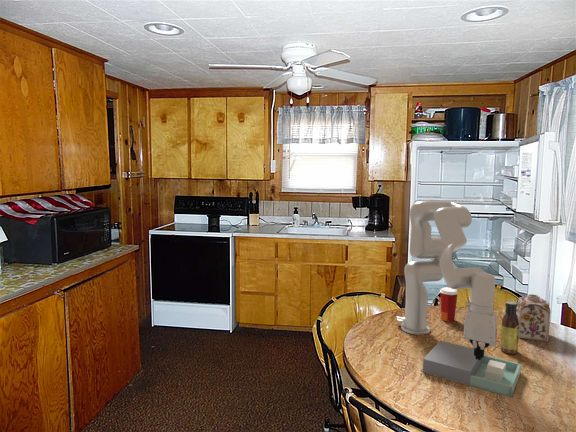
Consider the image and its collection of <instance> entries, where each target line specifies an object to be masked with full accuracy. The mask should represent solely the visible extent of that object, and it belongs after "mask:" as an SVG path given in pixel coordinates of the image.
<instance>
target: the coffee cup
mask: <svg viewBox="0 0 576 432" xmlns="http://www.w3.org/2000/svg"><path fill="white" fill-rule="evenodd" d="M439 293H440V319H441V321H444V322H449V323H450V322H451V323H452V322H454V321H455V318H456V317H455V316H456V312H457V311H456V310H457V299H458V294H459V292H458V289H452V288H450V287H449V286H448V287H442V288H441V289H440V290H439Z"/></svg>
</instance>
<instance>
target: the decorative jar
mask: <svg viewBox="0 0 576 432" xmlns="http://www.w3.org/2000/svg"><path fill="white" fill-rule="evenodd" d="M516 303H517V308H516V314H517V318H518V321H519V339H525V340H532V341H538V342H540V341H541V342H546V343H547V342H549V338H550V326H551V325H550V323H551V307H550V304H549V301H547V299H546V300H545V299H544V298H541V297H540V295H537V294H533V293H532V294H530V293H529V294H528V295H526V296H521V297H518V298H517V300H516Z"/></svg>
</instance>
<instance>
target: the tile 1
mask: <svg viewBox="0 0 576 432" xmlns="http://www.w3.org/2000/svg"><path fill="white" fill-rule="evenodd" d="M505 371H506V364H505V363H501V362H497V361H493V360H490V361H489V363H488V364H487V372H489V373H493V374H497V375H500V376H503V375H504V373H505Z"/></svg>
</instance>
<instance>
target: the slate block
mask: <svg viewBox="0 0 576 432" xmlns="http://www.w3.org/2000/svg"><path fill="white" fill-rule="evenodd" d="M475 357H476V356H474V347H473V348H472V347H468V346H464V345H461V344H460V345H459V344H455V343H452V342H449V341H443V340H439V341H438V342H437V343H436V344H435V345H434V346H433V348H432V349H431V350H430V351H429V352H428V353H427V354H426V355H425V356H424V357H423V358H422V373H425V374H428V375H431V376H434V377H439V378H442V379H446V380H448V381H452V382H456V383H460V384H463V385H466V386H469V387H471V386H470V376H471V375H473V376H475V375H476V373H477V371H478V370H479V368H480V366H481V365H482V363H483V358H482V359H481V360H478V359H475Z"/></svg>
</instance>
